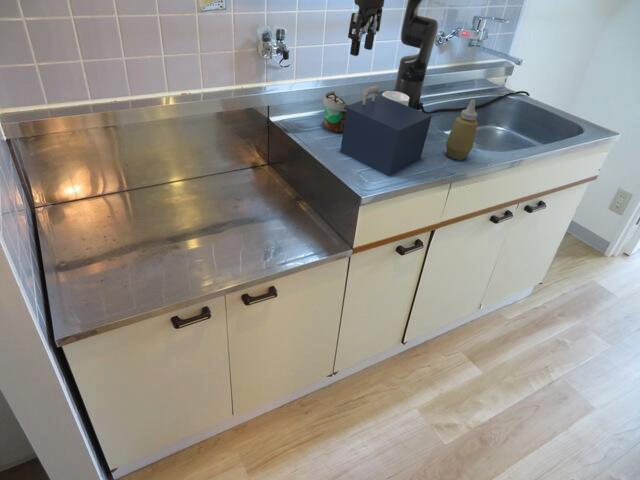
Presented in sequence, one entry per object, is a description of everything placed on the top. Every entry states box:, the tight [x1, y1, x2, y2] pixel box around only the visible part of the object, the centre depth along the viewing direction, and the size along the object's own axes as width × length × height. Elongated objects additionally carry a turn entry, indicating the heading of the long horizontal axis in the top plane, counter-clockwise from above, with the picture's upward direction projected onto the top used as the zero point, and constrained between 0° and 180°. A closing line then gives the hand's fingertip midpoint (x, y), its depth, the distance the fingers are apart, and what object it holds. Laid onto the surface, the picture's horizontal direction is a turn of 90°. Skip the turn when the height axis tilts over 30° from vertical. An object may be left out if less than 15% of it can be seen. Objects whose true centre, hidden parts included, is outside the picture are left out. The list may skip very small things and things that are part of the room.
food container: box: [322, 90, 348, 134], centre depth 151 cm, size 12×6×10 cm, turn 25°
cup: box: [381, 90, 409, 106], centre depth 154 cm, size 9×9×12 cm
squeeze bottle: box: [445, 99, 479, 161], centre depth 142 cm, size 8×8×18 cm
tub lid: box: [344, 85, 433, 133], centre depth 133 cm, size 19×17×5 cm
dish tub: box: [339, 111, 432, 176], centre depth 138 cm, size 18×17×13 cm
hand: (361, 52), depth 126 cm, fingers open, 8 cm apart
